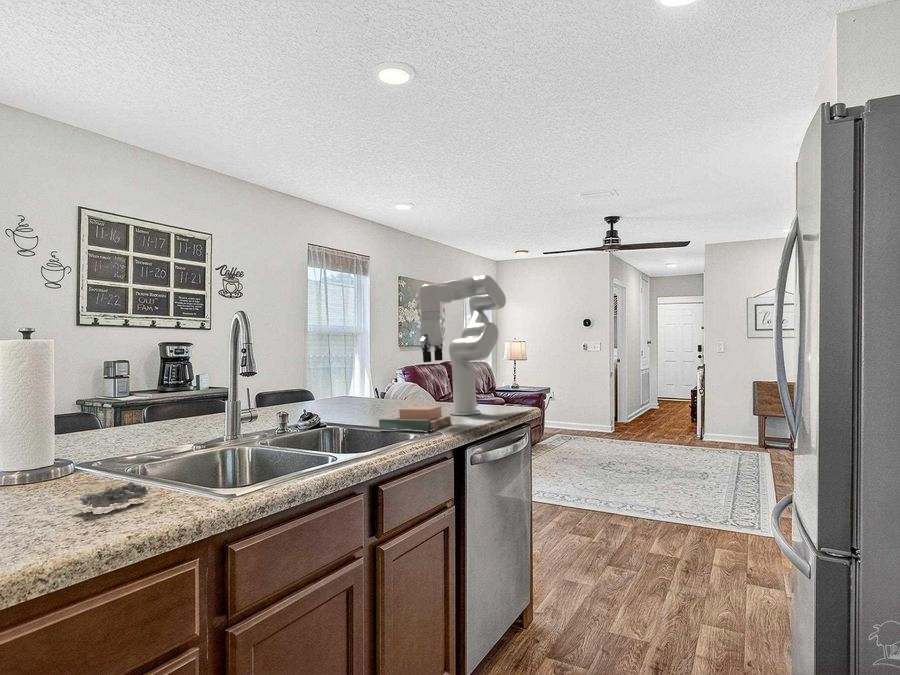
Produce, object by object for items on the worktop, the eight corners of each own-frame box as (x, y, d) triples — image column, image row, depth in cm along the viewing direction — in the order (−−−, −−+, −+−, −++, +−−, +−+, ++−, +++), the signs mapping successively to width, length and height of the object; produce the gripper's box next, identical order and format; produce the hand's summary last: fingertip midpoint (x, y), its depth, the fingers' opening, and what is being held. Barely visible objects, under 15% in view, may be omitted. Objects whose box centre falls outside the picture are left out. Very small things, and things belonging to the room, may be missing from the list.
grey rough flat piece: (95, 518, 100) (94, 496, 101) (76, 513, 105) (75, 492, 105) (153, 502, 110) (152, 482, 110) (133, 498, 114) (132, 478, 114)
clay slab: (413, 416, 205) (412, 406, 205) (441, 417, 200) (441, 406, 200) (399, 420, 196) (399, 409, 196) (429, 421, 191) (428, 409, 191)
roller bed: (405, 423, 207) (405, 412, 207) (451, 424, 199) (450, 413, 199) (378, 431, 190) (378, 419, 190) (427, 432, 182) (427, 420, 182)
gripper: (432, 317, 218) (434, 360, 218) (411, 317, 203) (413, 363, 203) (448, 316, 215) (451, 359, 215) (429, 316, 200) (431, 362, 200)
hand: (433, 361), depth 209 cm, fingers open, 9 cm apart
